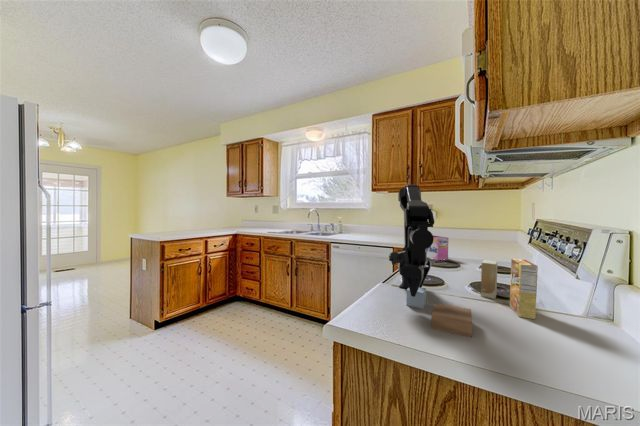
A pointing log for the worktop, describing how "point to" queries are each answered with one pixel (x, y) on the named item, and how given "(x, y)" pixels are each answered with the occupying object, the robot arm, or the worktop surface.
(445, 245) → the gum box
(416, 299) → the slate cube
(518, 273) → the candy box
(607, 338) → the worktop surface
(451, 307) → the walnut block
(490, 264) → the skincare box
